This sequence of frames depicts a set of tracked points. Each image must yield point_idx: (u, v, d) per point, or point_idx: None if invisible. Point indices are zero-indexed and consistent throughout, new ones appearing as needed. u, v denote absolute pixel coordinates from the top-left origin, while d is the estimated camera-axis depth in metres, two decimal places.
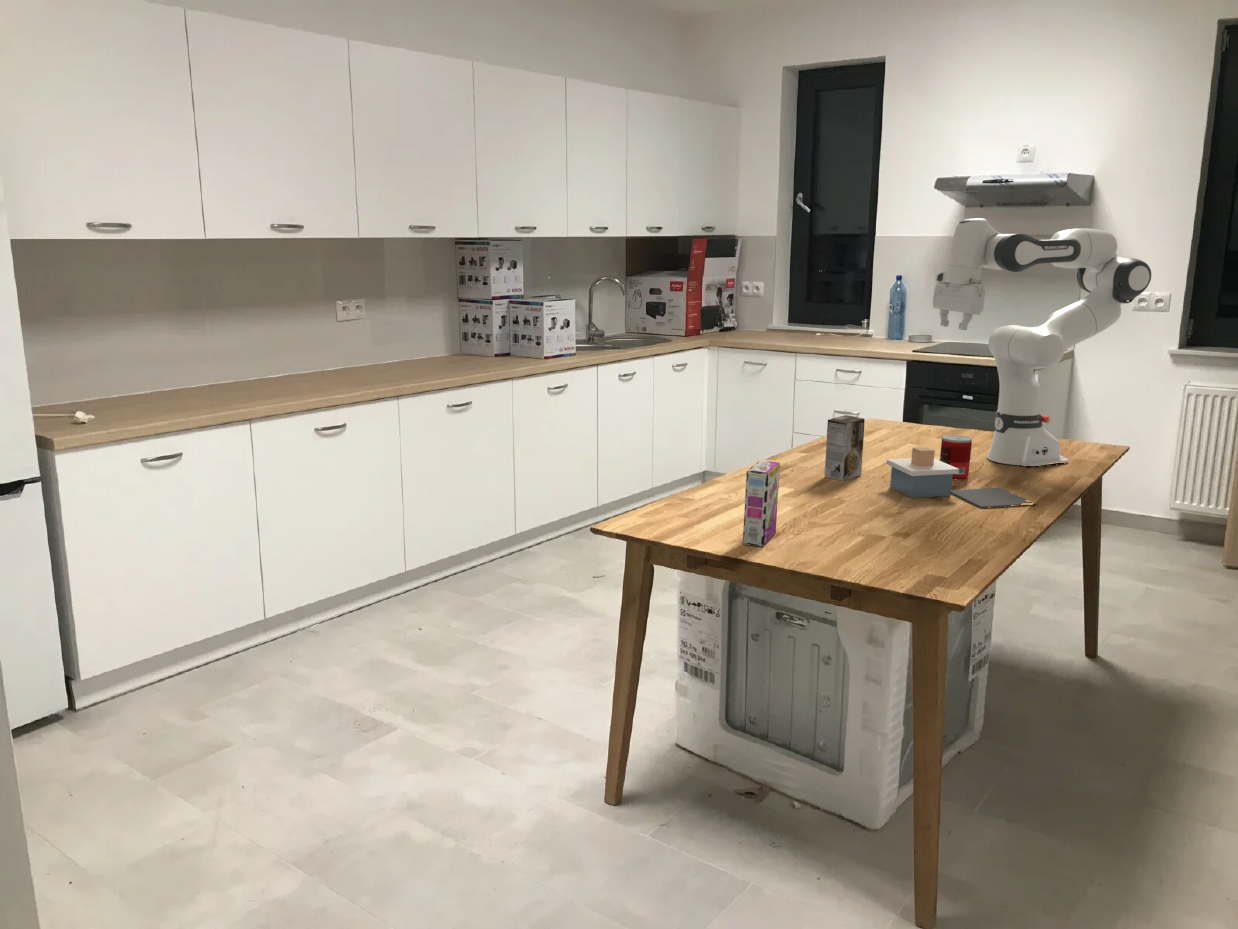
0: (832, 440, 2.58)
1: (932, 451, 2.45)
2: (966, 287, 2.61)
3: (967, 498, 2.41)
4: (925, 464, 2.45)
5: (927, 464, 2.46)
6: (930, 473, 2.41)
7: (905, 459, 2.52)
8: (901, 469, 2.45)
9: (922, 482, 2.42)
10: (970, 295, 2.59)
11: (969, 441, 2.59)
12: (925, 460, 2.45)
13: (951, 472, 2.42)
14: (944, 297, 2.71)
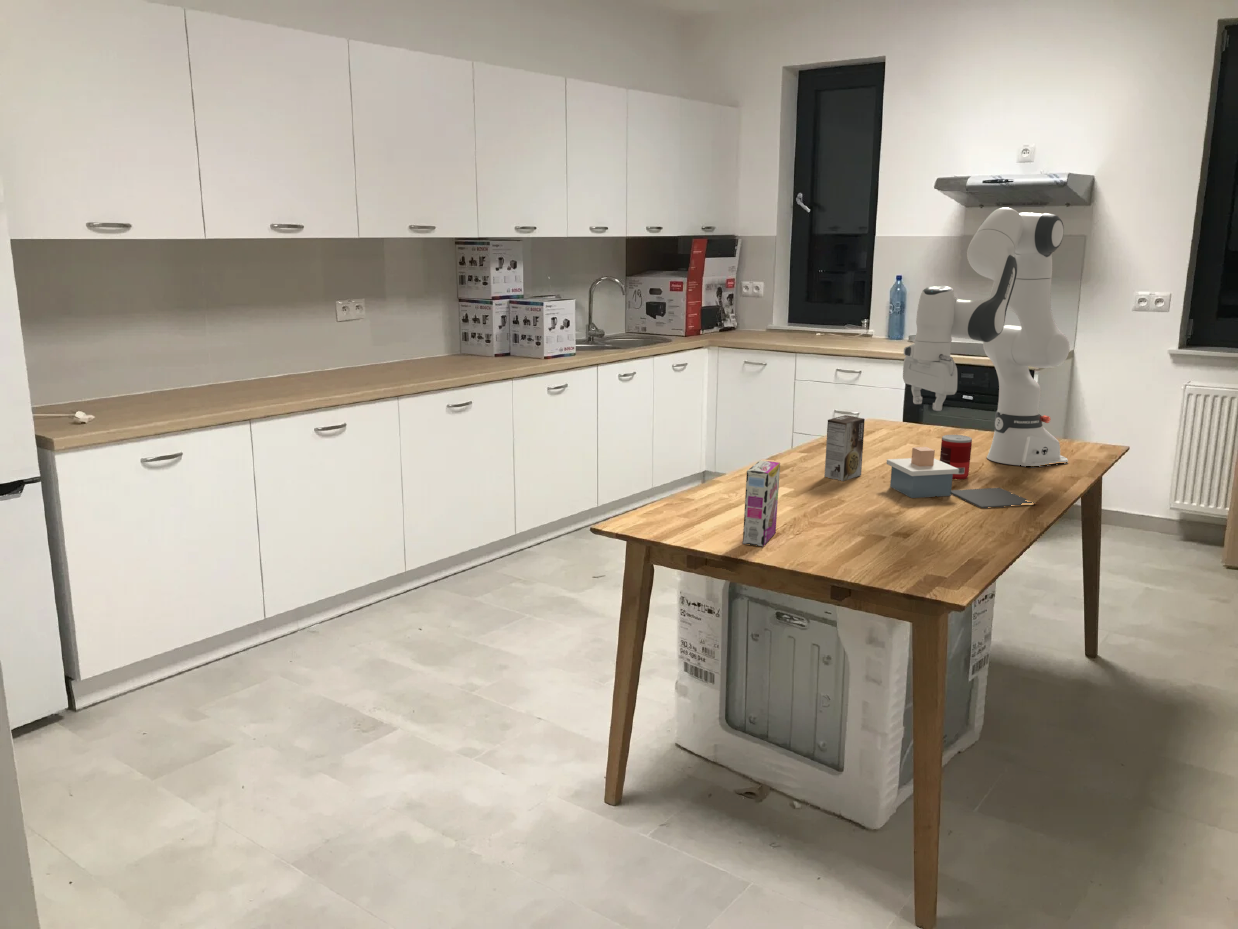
0: (832, 440, 2.58)
1: (932, 451, 2.45)
2: (936, 365, 2.35)
3: (967, 498, 2.41)
4: (925, 464, 2.45)
5: (927, 464, 2.46)
6: (930, 473, 2.41)
7: (905, 459, 2.52)
8: (901, 469, 2.45)
9: (922, 482, 2.42)
10: (941, 375, 2.34)
11: (969, 441, 2.59)
12: (925, 460, 2.45)
13: (951, 472, 2.42)
14: (914, 373, 2.46)
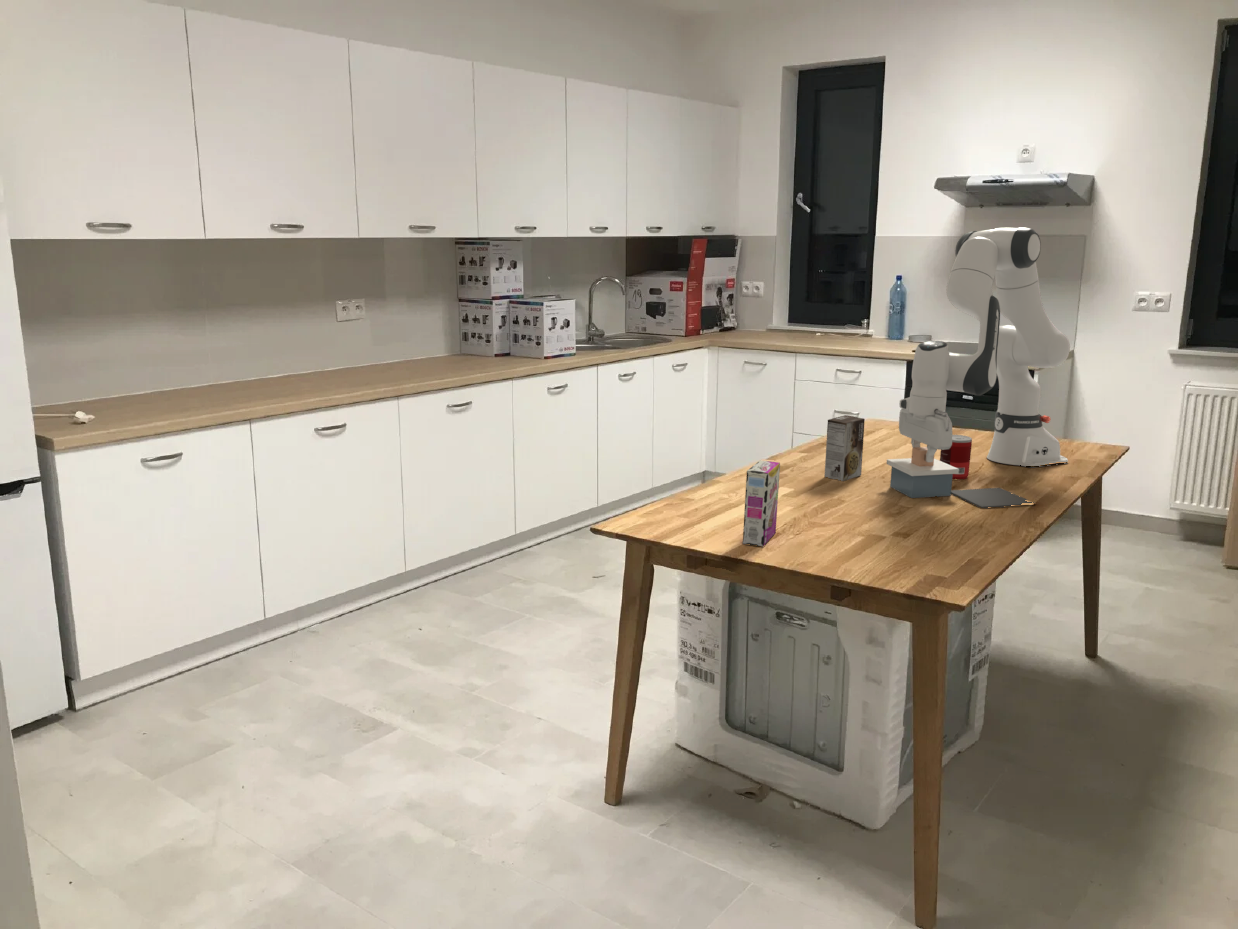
0: (832, 440, 2.58)
1: None
2: (931, 419, 2.39)
3: (967, 498, 2.41)
4: (925, 464, 2.45)
5: (927, 464, 2.46)
6: (930, 473, 2.41)
7: (905, 459, 2.52)
8: (901, 469, 2.45)
9: (922, 482, 2.42)
10: (936, 430, 2.37)
11: (969, 441, 2.59)
12: None
13: (951, 472, 2.42)
14: (910, 425, 2.49)
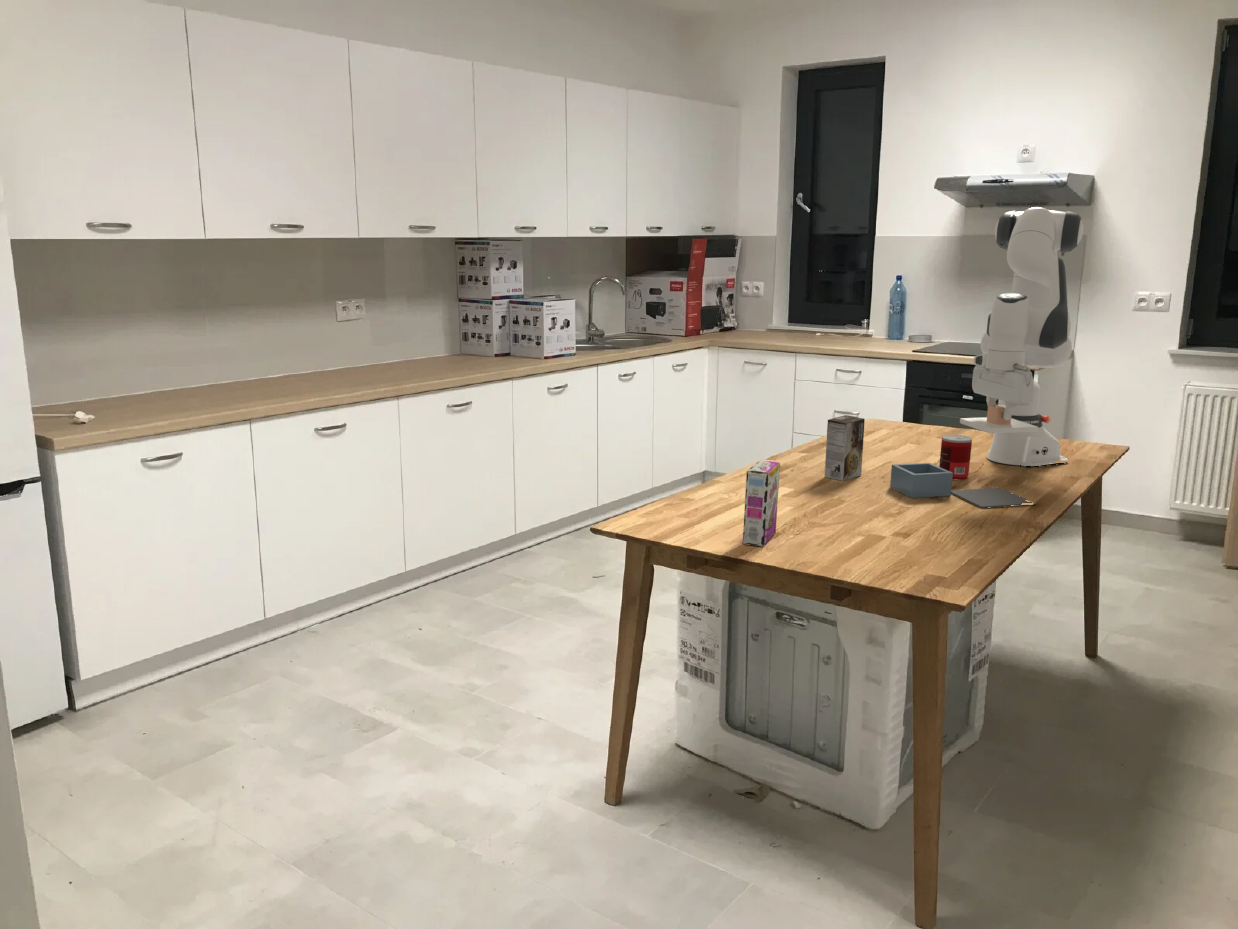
0: (832, 440, 2.58)
1: None
2: (1011, 374, 2.29)
3: (967, 498, 2.41)
4: (1002, 422, 2.36)
5: (1004, 422, 2.36)
6: (1009, 431, 2.32)
7: (979, 418, 2.43)
8: (977, 427, 2.36)
9: (922, 482, 2.42)
10: (1016, 385, 2.28)
11: (969, 441, 2.59)
12: None
13: (1030, 430, 2.33)
14: (986, 382, 2.40)
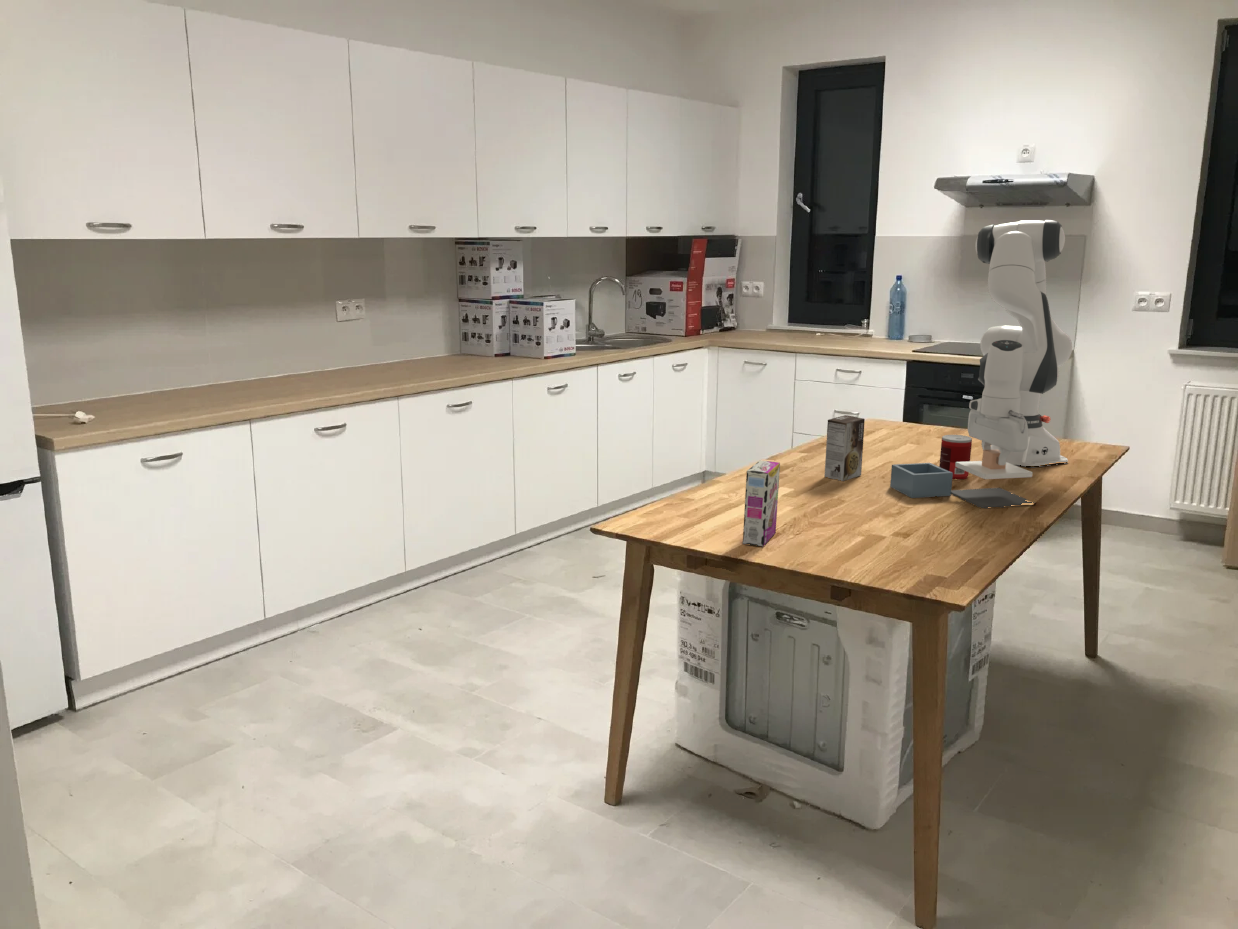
0: (832, 440, 2.58)
1: None
2: (1006, 421, 2.32)
3: (967, 498, 2.41)
4: (997, 467, 2.39)
5: (999, 467, 2.39)
6: (1003, 476, 2.35)
7: (974, 462, 2.46)
8: (972, 472, 2.38)
9: (922, 482, 2.42)
10: (1011, 432, 2.30)
11: (969, 441, 2.59)
12: None
13: (1024, 475, 2.36)
14: (981, 427, 2.42)
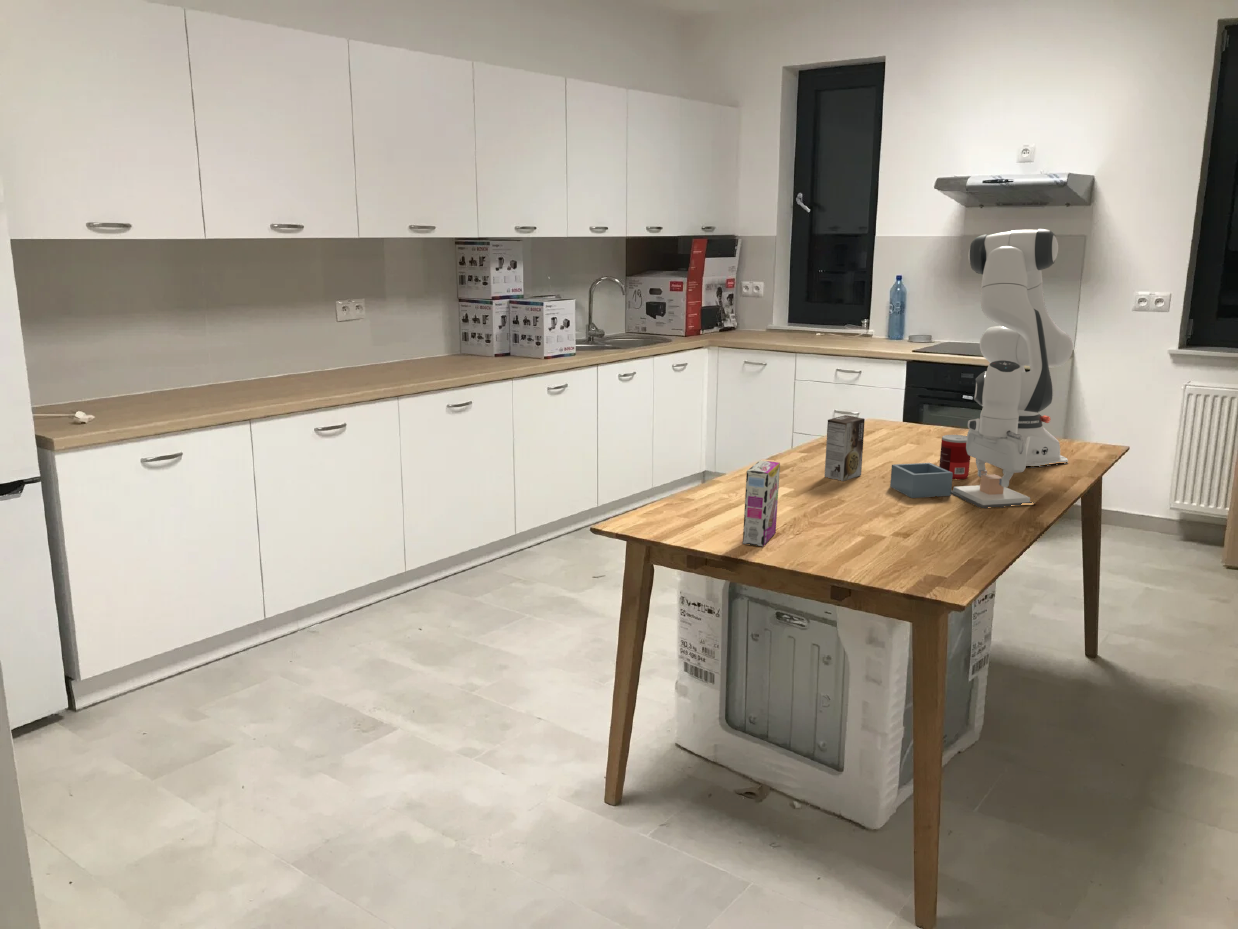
0: (832, 440, 2.58)
1: None
2: (1004, 442, 2.33)
3: (967, 498, 2.41)
4: (994, 492, 2.40)
5: (997, 492, 2.41)
6: (1001, 502, 2.36)
7: (972, 486, 2.47)
8: (970, 497, 2.40)
9: (922, 482, 2.42)
10: (1009, 452, 2.31)
11: None
12: (995, 488, 2.40)
13: (1022, 501, 2.38)
14: (979, 447, 2.43)
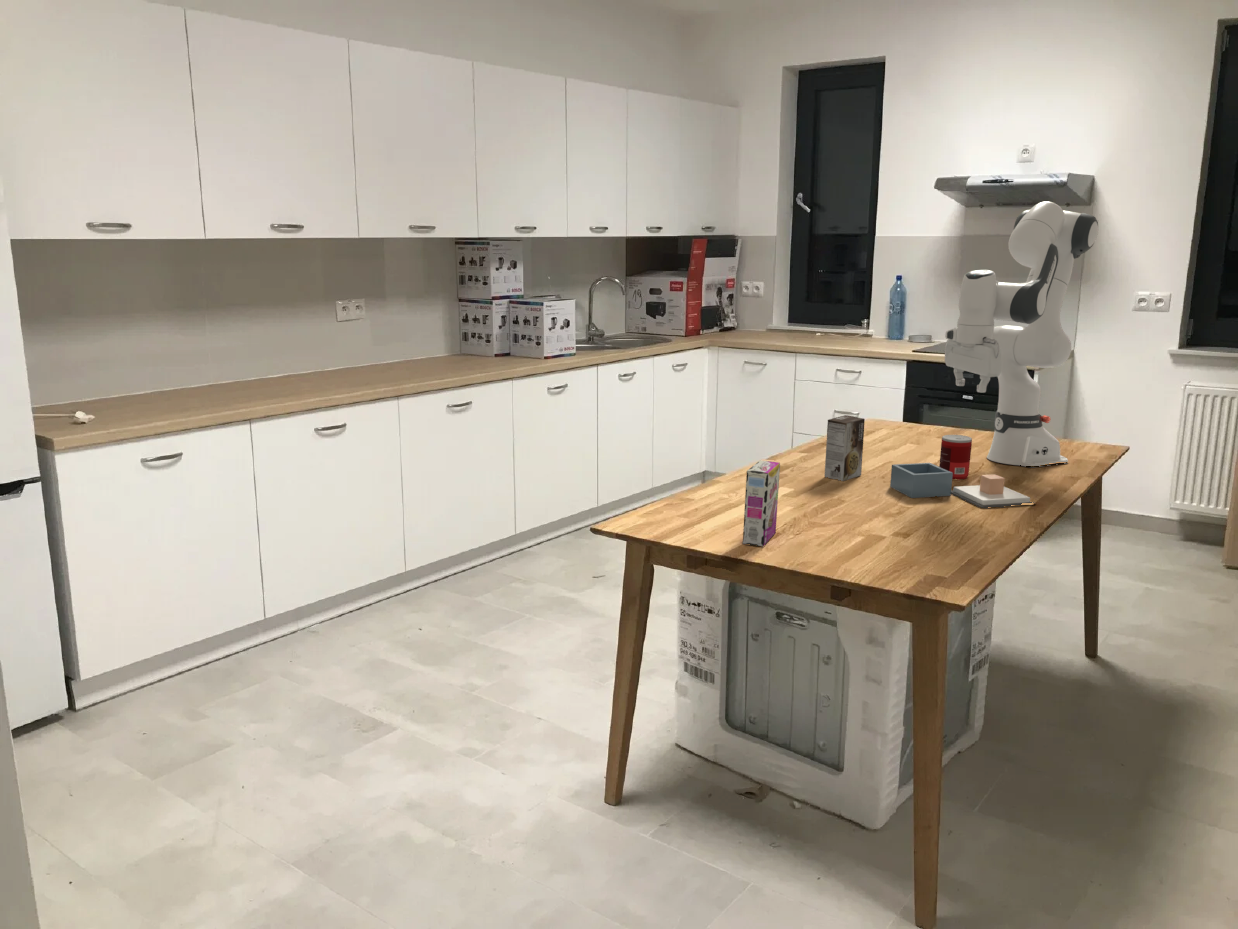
0: (832, 440, 2.58)
1: (1002, 479, 2.40)
2: (980, 348, 2.41)
3: (967, 498, 2.41)
4: (994, 492, 2.40)
5: (997, 492, 2.41)
6: (1001, 502, 2.36)
7: (972, 486, 2.47)
8: (970, 497, 2.40)
9: (922, 482, 2.42)
10: (985, 357, 2.39)
11: (969, 441, 2.59)
12: (995, 488, 2.40)
13: (1022, 501, 2.38)
14: (957, 356, 2.51)
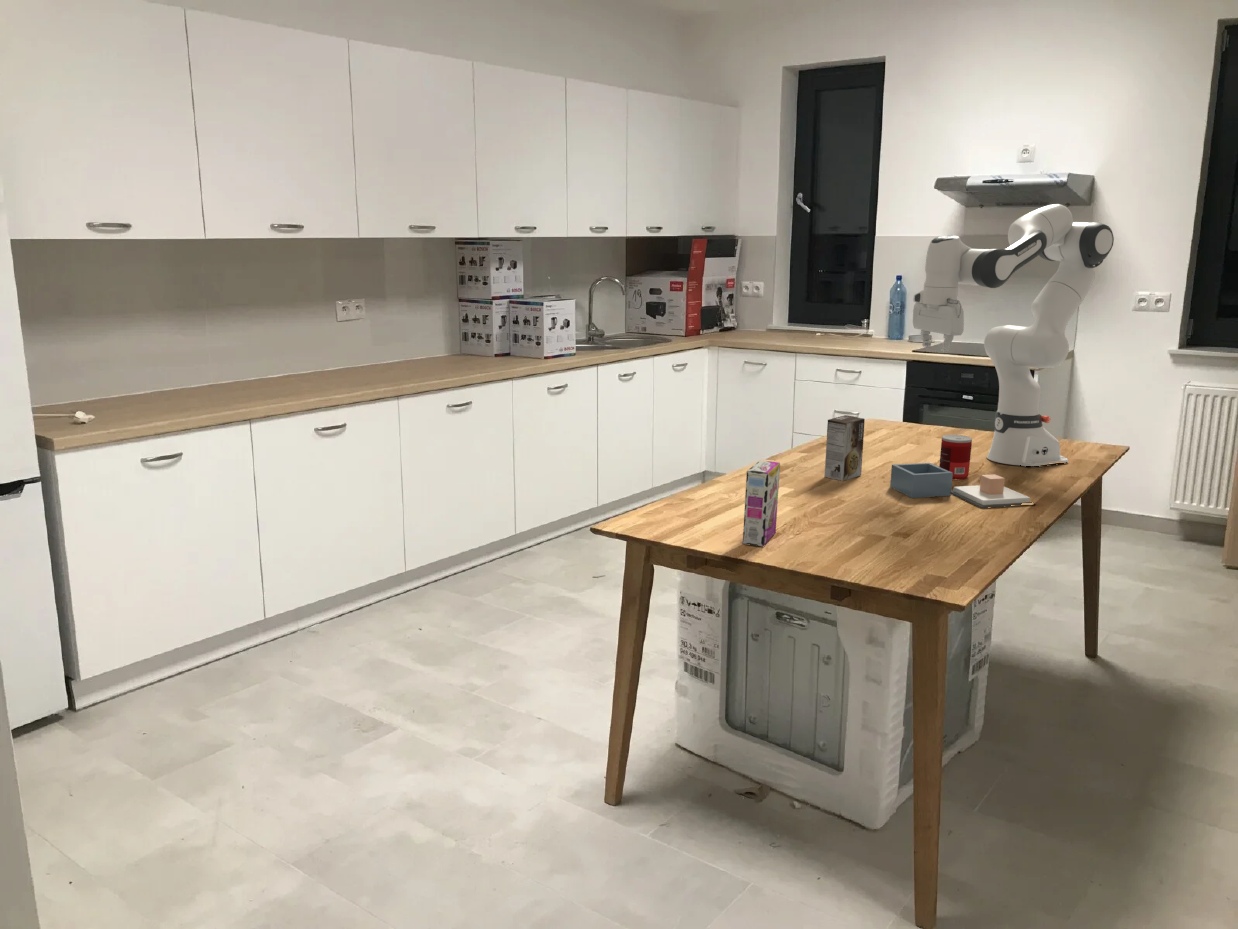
0: (832, 440, 2.58)
1: (1002, 479, 2.40)
2: (944, 308, 2.54)
3: (967, 498, 2.41)
4: (994, 492, 2.40)
5: (997, 492, 2.41)
6: (1001, 502, 2.36)
7: (972, 486, 2.47)
8: (970, 497, 2.40)
9: (922, 482, 2.42)
10: (948, 317, 2.52)
11: (969, 441, 2.59)
12: (995, 488, 2.40)
13: (1022, 501, 2.38)
14: (924, 318, 2.64)
